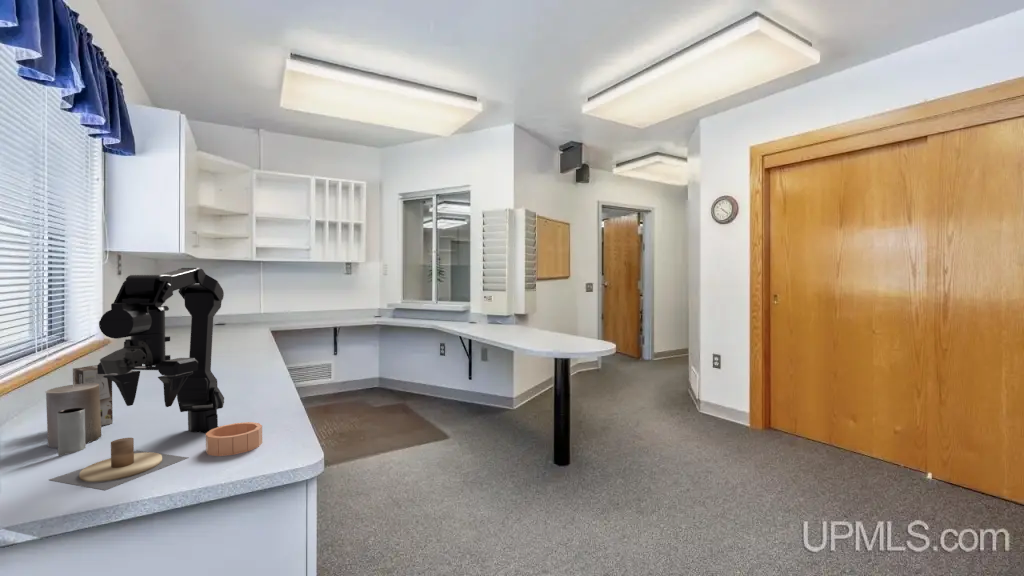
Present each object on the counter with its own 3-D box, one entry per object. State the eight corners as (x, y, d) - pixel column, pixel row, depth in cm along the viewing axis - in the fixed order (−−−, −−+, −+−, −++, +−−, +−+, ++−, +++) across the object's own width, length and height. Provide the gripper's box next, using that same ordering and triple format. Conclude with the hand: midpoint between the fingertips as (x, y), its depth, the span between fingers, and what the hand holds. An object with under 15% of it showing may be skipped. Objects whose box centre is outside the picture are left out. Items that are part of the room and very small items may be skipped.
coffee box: (114, 423, 126) (113, 366, 126) (83, 430, 121) (82, 370, 121) (102, 418, 131) (101, 363, 131) (73, 424, 126) (71, 367, 125)
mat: (48, 484, 88) (48, 479, 88) (137, 454, 103) (137, 450, 103) (105, 495, 83) (105, 490, 83) (189, 462, 98) (188, 457, 98)
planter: (54, 459, 100) (53, 414, 100) (63, 452, 104) (62, 409, 104) (81, 455, 102) (80, 411, 102) (88, 449, 106) (87, 406, 106)
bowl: (194, 457, 101) (194, 435, 101) (237, 440, 112) (236, 420, 112) (232, 462, 98) (232, 439, 98) (272, 444, 109) (272, 424, 109)
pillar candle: (93, 432, 119) (91, 376, 118) (107, 438, 114) (105, 380, 113) (41, 444, 110) (39, 384, 110) (54, 451, 105) (52, 388, 105)
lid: (63, 477, 89) (62, 448, 89) (134, 453, 101) (134, 428, 101) (108, 485, 85) (108, 455, 85) (177, 459, 97) (176, 433, 97)
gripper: (68, 337, 88) (69, 415, 88) (152, 338, 86) (153, 418, 86) (123, 331, 99) (124, 401, 99) (199, 332, 97) (200, 403, 97)
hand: (149, 406), depth 95 cm, fingers open, 9 cm apart
